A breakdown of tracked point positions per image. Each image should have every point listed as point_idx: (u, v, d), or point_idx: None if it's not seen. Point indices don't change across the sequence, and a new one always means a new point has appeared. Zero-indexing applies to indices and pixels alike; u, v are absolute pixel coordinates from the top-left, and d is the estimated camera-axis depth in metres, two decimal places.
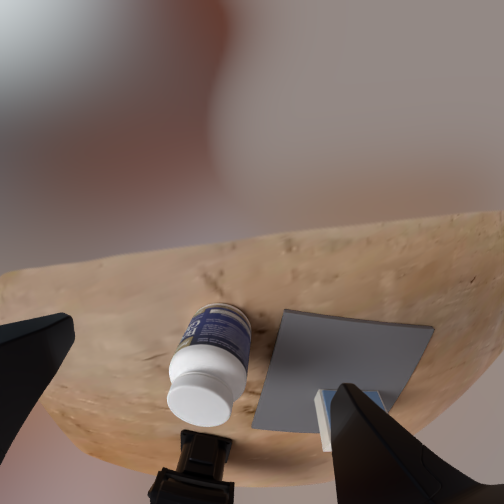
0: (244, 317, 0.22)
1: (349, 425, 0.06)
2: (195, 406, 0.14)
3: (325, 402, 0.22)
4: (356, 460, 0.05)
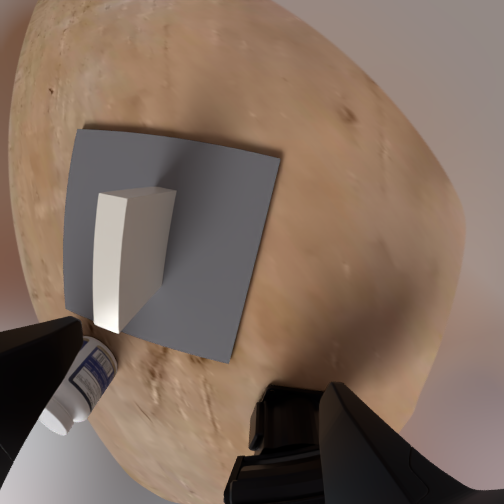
0: None
1: (336, 425, 0.06)
2: (46, 419, 0.13)
3: None
4: (343, 461, 0.05)
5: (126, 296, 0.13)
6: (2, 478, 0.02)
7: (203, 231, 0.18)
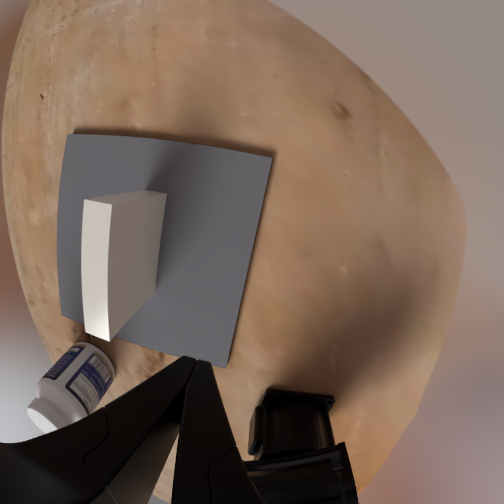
0: (72, 346, 0.21)
1: None
2: (44, 425, 0.13)
3: None
4: None
5: (116, 304, 0.12)
6: None
7: (195, 234, 0.18)
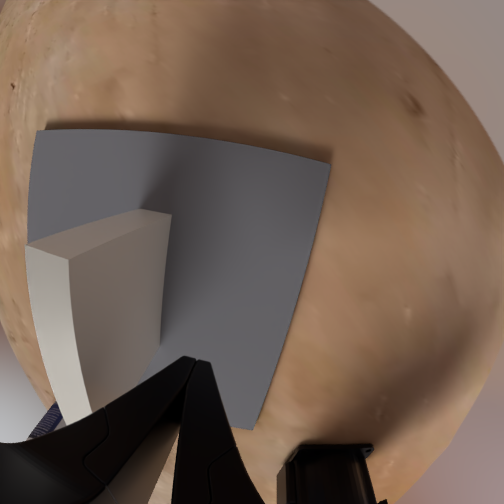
0: None
1: None
2: None
3: None
4: None
5: (104, 399, 0.07)
6: None
7: (215, 275, 0.12)
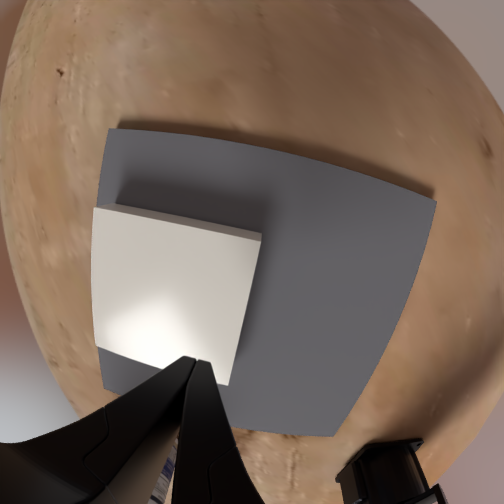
0: None
1: None
2: None
3: None
4: None
5: (107, 320, 0.11)
6: None
7: (337, 300, 0.12)
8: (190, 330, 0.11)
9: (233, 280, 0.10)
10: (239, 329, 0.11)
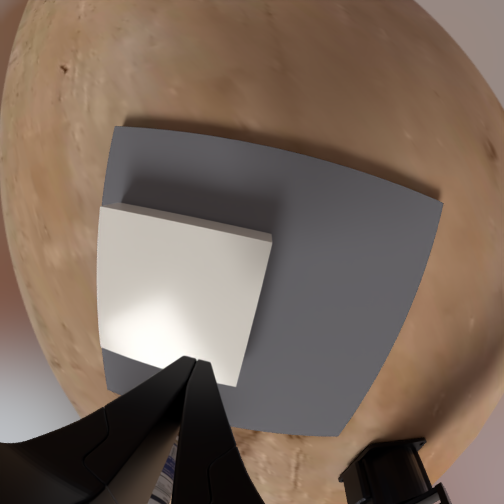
0: None
1: None
2: None
3: None
4: None
5: (113, 322, 0.11)
6: None
7: (345, 300, 0.12)
8: (199, 331, 0.11)
9: (243, 281, 0.10)
10: (249, 330, 0.11)
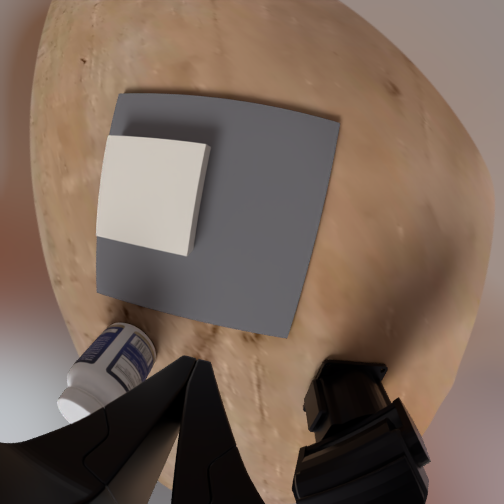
0: None
1: (184, 403, 0.06)
2: (78, 419, 0.13)
3: None
4: None
5: (107, 211, 0.16)
6: None
7: (266, 193, 0.17)
8: (162, 208, 0.16)
9: (189, 169, 0.15)
10: (193, 204, 0.16)
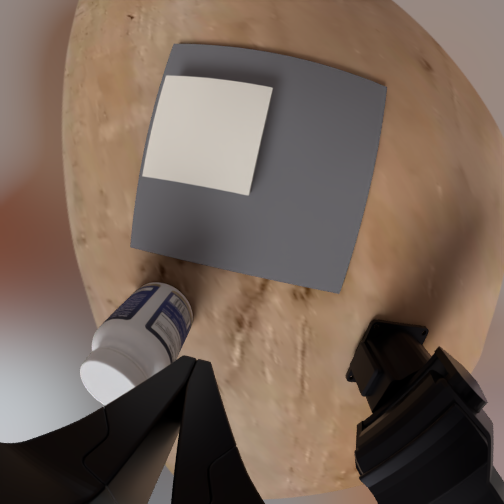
0: None
1: None
2: (107, 389, 0.12)
3: None
4: None
5: (159, 149, 0.16)
6: None
7: (325, 141, 0.17)
8: (224, 146, 0.15)
9: (256, 109, 0.15)
10: (259, 142, 0.15)
